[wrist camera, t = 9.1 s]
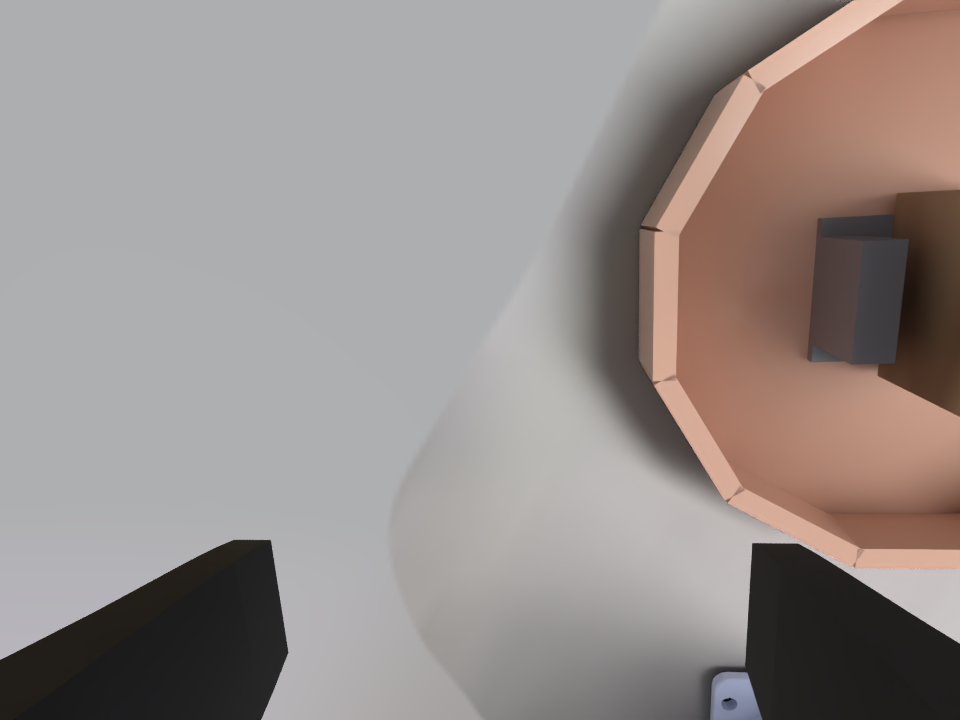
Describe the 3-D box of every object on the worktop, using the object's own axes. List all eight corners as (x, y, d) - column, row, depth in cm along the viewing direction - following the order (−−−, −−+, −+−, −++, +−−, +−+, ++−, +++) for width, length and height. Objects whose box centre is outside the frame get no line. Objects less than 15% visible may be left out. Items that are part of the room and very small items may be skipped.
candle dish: (1150, 523, 18) (1267, 584, 15) (637, 522, 20) (653, 576, 17) (1281, -42, 14) (1469, -107, 11) (641, 18, 16) (662, -24, 13)
